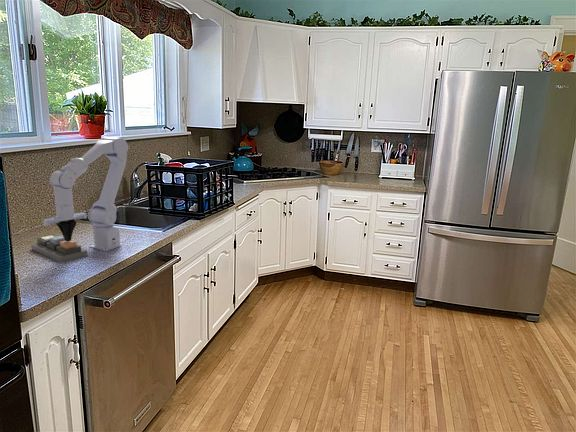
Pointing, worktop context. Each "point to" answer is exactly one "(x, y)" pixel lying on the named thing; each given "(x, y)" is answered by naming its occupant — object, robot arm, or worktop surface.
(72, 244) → the terracotta key
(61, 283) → the worktop surface
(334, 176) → the worktop surface
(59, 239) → the slate blue key
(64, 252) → the key panel
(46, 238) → the off-white key
